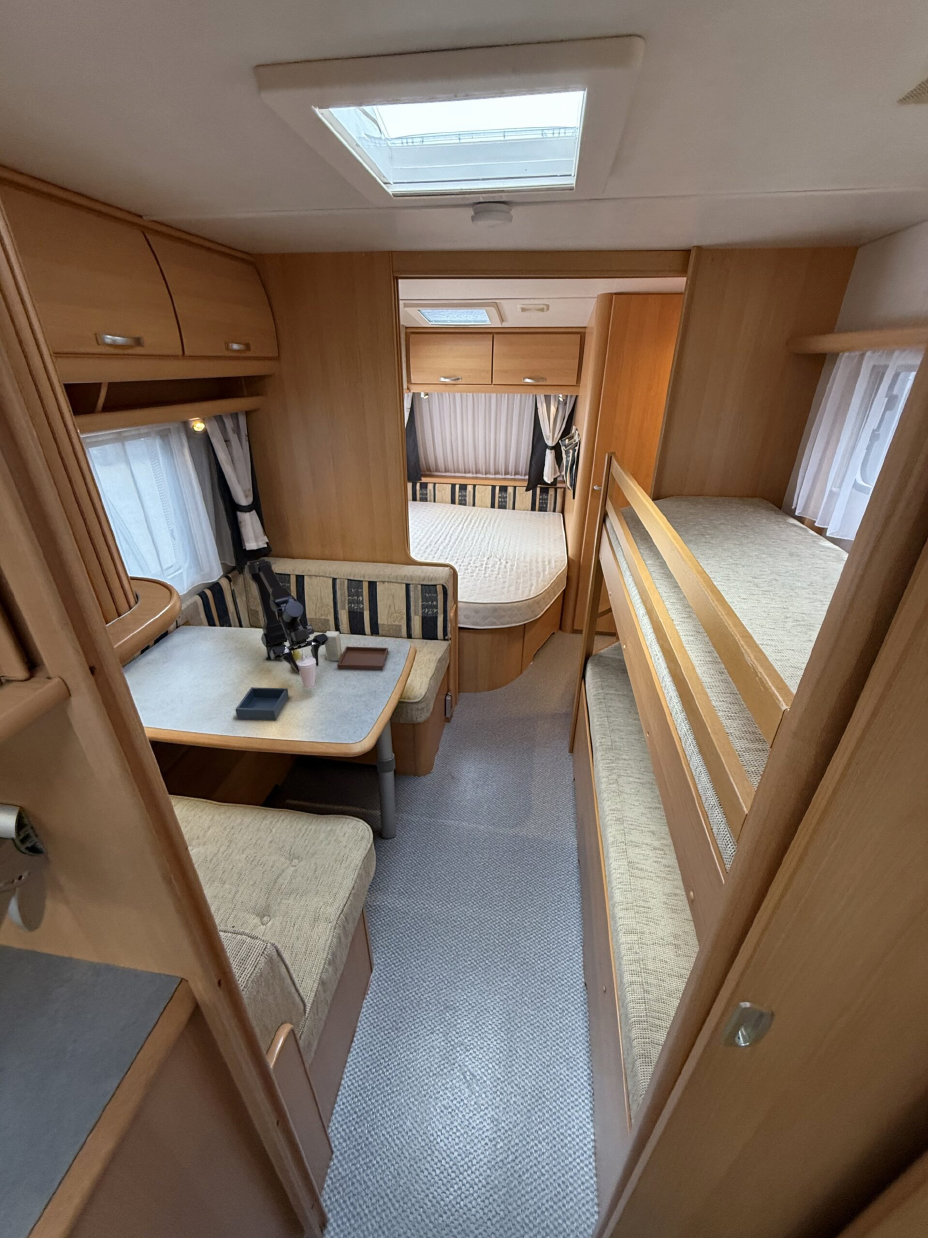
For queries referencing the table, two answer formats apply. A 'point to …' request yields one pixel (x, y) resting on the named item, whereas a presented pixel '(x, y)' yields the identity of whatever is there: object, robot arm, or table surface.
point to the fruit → (295, 657)
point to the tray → (363, 658)
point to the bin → (262, 703)
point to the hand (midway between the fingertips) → (308, 669)
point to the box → (333, 646)
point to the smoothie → (307, 670)
